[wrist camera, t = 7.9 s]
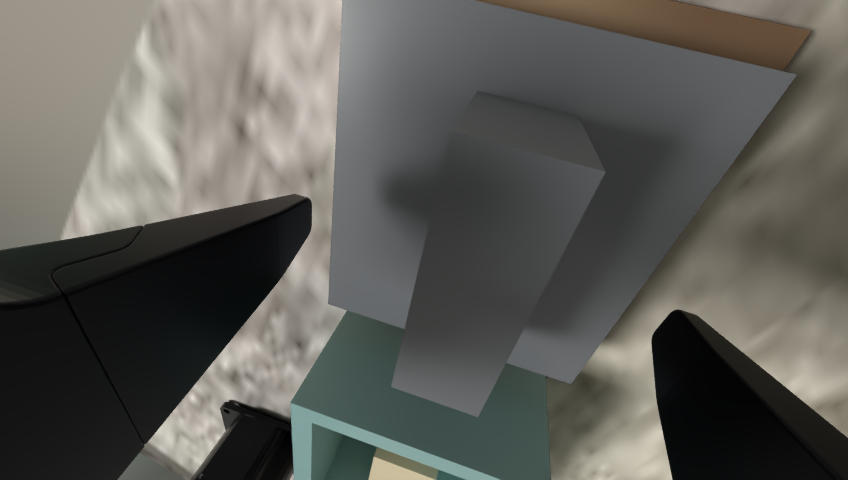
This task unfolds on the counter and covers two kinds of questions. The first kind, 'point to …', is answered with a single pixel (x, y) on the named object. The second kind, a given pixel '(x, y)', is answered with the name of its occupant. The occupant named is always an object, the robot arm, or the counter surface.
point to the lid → (517, 180)
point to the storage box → (410, 419)
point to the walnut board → (677, 27)
